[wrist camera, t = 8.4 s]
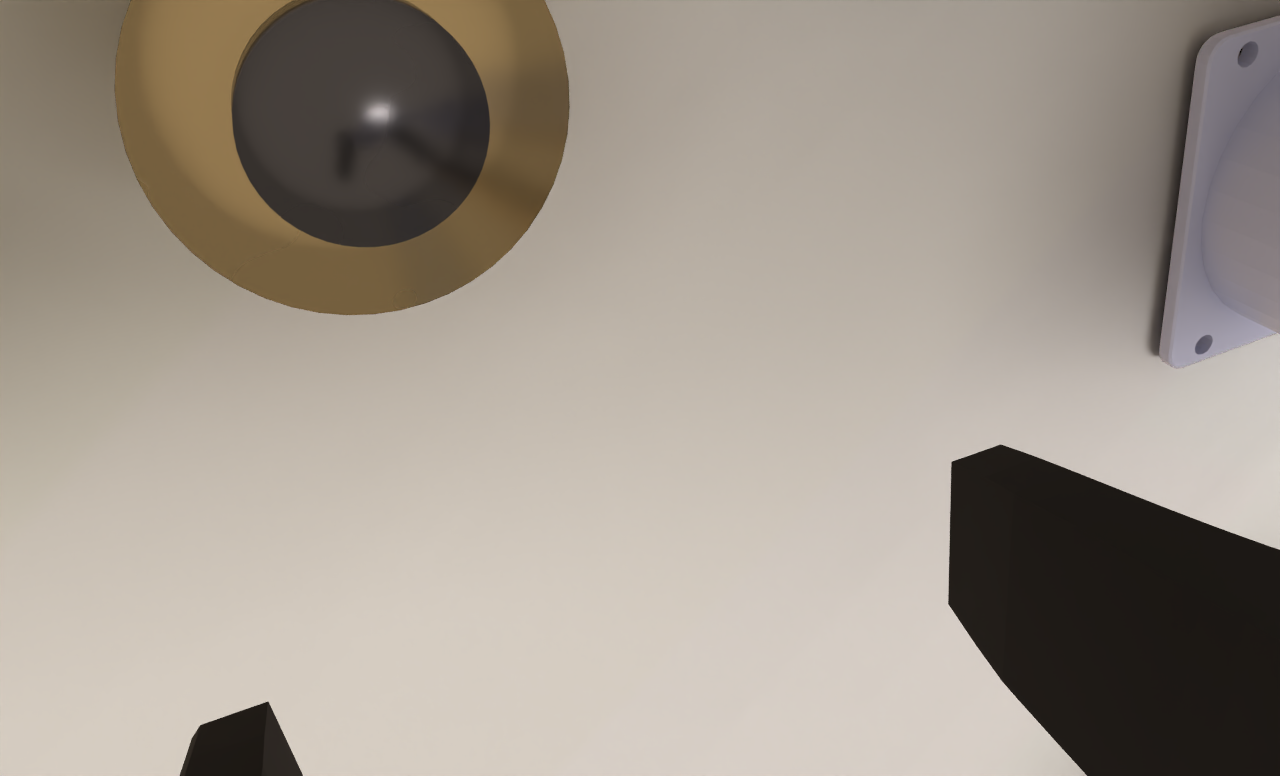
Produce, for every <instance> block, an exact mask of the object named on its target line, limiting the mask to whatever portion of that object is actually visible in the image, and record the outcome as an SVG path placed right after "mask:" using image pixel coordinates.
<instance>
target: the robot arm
mask: <svg viewBox="0 0 1280 776" xmlns="http://www.w3.org/2000/svg"><path fill="white" fill-rule="evenodd" d="M1242 47H1243V49H1242ZM1241 49H1242V52H1241V55H1240V56H1239V57H1238V55H1239V52H1240V50H1241ZM1276 333H1279V334H1280V15H1279V16H1275V17H1272V18H1268V19H1265V20H1261V21H1258V22H1254V23H1251V24H1247V25H1244V26H1240V27H1236V28H1233V29H1229V30H1226V31H1222V32H1219V33H1217V34H1215V35H1213V36H1211V37H1210V38H1209V39H1208V40H1207V41H1206V42H1205V43H1204V44H1203V45H1202V47H1201V49H1200V51H1199V52H1198V55H1197V59H1196V64H1195V72H1194V80H1193V88H1192V96H1191V103H1190V111H1189V119H1188V127H1187V135H1186V143H1185V151H1184V159H1183V167H1182V174H1181V182H1180V190H1179V198H1178V206H1177V214H1176V222H1175V230H1174V237H1173V245H1172V253H1171V261H1170V269H1169V277H1168V285H1167V293H1166V301H1165V308H1164V316H1163V324H1162V332H1161V340H1160V348H1159V355H1160V358H1161V360H1162V361H1163V362H1165V363H1166V364H1168V365H1170V366H1171V367H1174V368H1183V367H1186V366H1188V365H1191V364H1194V363H1196V362H1199V361H1202V360H1205V359H1207V358H1210V357H1213V356H1216V355H1218V354H1221V353H1224V352H1226V351H1229V350H1232V349H1235V348H1237V347H1240V346H1243V345H1246V344H1248V343H1251V342H1254V341H1256V340H1259V339H1262V338H1265V337H1267V336H1270V335H1273V334H1276ZM948 604H949V606H950V607H951V609H952V610H953V611H954V613H955V614H956V616H957V617H958V619H959V620H960V622H961V623H962V625H963V626H964V628H965V629H966V631H967V632H968V634H969V635H970V637H971V638H972V640H973V641H974V643H975V644H976V646H977V647H978V648H979V650H980V651H981V653H982V654H983V655H984V657H985V658H986V659H987V661H988V662H989V664H990V665H991V666H992V668H993V669H994V671H995V672H996V673H997V675H998V676H999V677H1000V679H1001V680H1002V682H1003V683H1004V684H1005V685H1006V686H1007V687H1008V688H1009V690H1010V691H1011V692H1012V693H1013V694H1014V695H1015V696H1016V698H1017V699H1018V700H1019V701H1020V702H1021V703H1022V704H1023V705H1024V706H1025V708H1026V709H1027V710H1028V711H1029V712H1030V713H1031V714H1032V715H1033V717H1034V718H1035V719H1036V720H1037V721H1038V722H1039V723H1040V724H1041V725H1042V727H1043V728H1044V729H1045V730H1046V731H1047V732H1048V733H1049V734H1050V735H1051V737H1052V738H1053V739H1054V740H1055V741H1056V742H1057V743H1058V744H1059V745H1060V746H1061V748H1062V749H1063V750H1064V751H1065V752H1066V753H1067V754H1068V755H1069V756H1070V757H1071V758H1072V760H1073V761H1074V762H1075V763H1076V764H1077V765H1078V766H1079V767H1080V768H1081V769H1082V770H1083V772H1084V773H1085V774H1086V775H1087V776H1280V550H1278V549H1275V548H1272V547H1269V546H1267V545H1264V544H1261V543H1258V542H1255V541H1253V540H1250V539H1247V538H1244V537H1242V536H1239V535H1236V534H1233V533H1230V532H1228V531H1225V530H1222V529H1220V528H1217V527H1214V526H1212V525H1209V524H1206V523H1204V522H1201V521H1198V520H1196V519H1193V518H1190V517H1188V516H1185V515H1183V514H1180V513H1177V512H1175V511H1172V510H1170V509H1167V508H1164V507H1162V506H1159V505H1157V504H1154V503H1152V502H1149V501H1147V500H1144V499H1141V498H1139V497H1136V496H1134V495H1131V494H1129V493H1126V492H1124V491H1121V490H1119V489H1116V488H1114V487H1111V486H1109V485H1106V484H1104V483H1101V482H1099V481H1096V480H1094V479H1091V478H1089V477H1086V476H1084V475H1081V474H1079V473H1076V472H1073V471H1071V470H1068V469H1066V468H1063V467H1061V466H1058V465H1056V464H1053V463H1050V462H1048V461H1045V460H1043V459H1040V458H1037V457H1035V456H1032V455H1029V454H1026V453H1024V452H1021V451H1018V450H1015V449H1012V448H1009V447H1006V446H1003V445H998V446H996V447H993V448H990V449H987V450H984V451H981V452H978V453H976V454H973V455H970V456H967V457H964V458H961V459H958V460H956V461H953V462H952V467H951V511H950V556H949V601H948ZM180 776H303V775H302V772H301V770H300V768H299V766H298V764H297V762H296V760H295V757H294V755H293V753H292V751H291V749H290V747H289V745H288V743H287V740H286V738H285V736H284V734H283V732H282V730H281V728H280V725H279V723H278V721H277V719H276V717H275V715H274V713H273V711H272V708H271V706H270V704H269V702H265V703H263V704H260V705H257V706H254V707H251V708H248V709H245V710H243V711H240V712H237V713H234V714H231V715H228V716H225V717H223V718H220V719H217V720H214V721H211V722H208V723H205V724H203V725H200V727H199V728H198V730H197V731H196V733H195V734H194V736H193V738H192V740H191V743H190V746H189V749H188V752H187V755H186V758H185V761H184V764H183V767H182V770H181V773H180Z"/></svg>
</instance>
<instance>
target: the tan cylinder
mask: <svg viewBox="0 0 1280 776" xmlns="http://www.w3.org/2000/svg"><path fill="white" fill-rule="evenodd" d="M115 97H116V106H117V116H118V123H119V127H120V131H121V135H122V138H123V142H124V146H125V150H126V153H127V156H128V158H129V161H130V163H131V166H132V168H133V171H134V173H135V175H136V178H137V180H138V182H139V184H140V186H141V187H142V189H143V191H144V193H145V194H146V196H147V198H148V200H149V201H150V203H151V205H152V207H153V208H154V209H155V211H156V212H157V213H158V215H159V216H160V217H161V219H162V220H163V221H164V223H165V224H166V225H167V227H168V228H169V229H170V231H171V232H172V233H173V234H174V235H175V236H176V237H177V238H178V239H179V240H180V241H181V242H182V243H183V244H184V245H185V246H186V247H187V248H188V249H189V250H190V251H191V252H192V253H193V254H194V255H196V256H197V257H198V258H199V259H201V260H202V261H203V262H204V263H205V264H207V265H208V266H209V267H210V268H212V269H213V270H214V271H216V272H217V273H219V274H221V275H222V276H224V277H225V278H227V279H229V280H230V281H232V282H233V283H235V284H237V285H238V286H240V287H242V288H244V289H246V290H249V291H251V292H253V293H255V294H257V295H259V296H261V297H264V298H266V299H269V300H272V301H275V302H278V303H281V304H284V305H287V306H290V307H294V308H299V309H304V310H308V311H313V312H318V313H329V314H340V315H363V314H378V313H385V312H391V311H398V310H402V309H406V308H410V307H413V306H417V305H421V304H424V303H427V302H430V301H432V300H434V299H437V298H439V297H442V296H444V295H447V294H449V293H451V292H453V291H455V290H456V289H458V288H460V287H462V286H464V285H466V284H467V283H469V282H471V281H473V280H474V279H475V278H477V277H478V276H479V275H481V274H482V273H484V272H485V271H486V270H488V269H489V268H491V267H492V266H493V265H494V264H495V263H496V262H497V261H499V260H500V259H501V258H502V257H503V256H504V255H505V254H506V253H507V252H508V251H509V250H510V249H512V247H513V246H514V245H515V244H516V243H517V241H518V240H519V239H520V238H521V237H522V236H523V234H524V233H525V232H526V231H527V230H528V228H529V227H530V225H531V224H532V222H533V221H534V219H535V218H536V216H537V214H538V213H539V211H540V210H541V208H542V207H543V204H544V202H545V200H546V198H547V196H548V194H549V192H550V190H551V188H552V186H553V184H554V181H555V178H556V175H557V172H558V169H559V167H560V164H561V161H562V157H563V152H564V147H565V142H566V138H567V131H568V119H569V83H568V75H567V69H566V63H565V57H564V52H563V48H562V45H561V42H560V38H559V35H558V32H557V28H556V25H555V23H554V21H553V18H552V16H551V14H550V11H549V9H548V7H547V5H546V2H545V0H131V2H130V5H129V7H128V10H127V13H126V16H125V19H124V22H123V25H122V28H121V33H120V39H119V44H118V49H117V55H116V69H115Z"/></svg>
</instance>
